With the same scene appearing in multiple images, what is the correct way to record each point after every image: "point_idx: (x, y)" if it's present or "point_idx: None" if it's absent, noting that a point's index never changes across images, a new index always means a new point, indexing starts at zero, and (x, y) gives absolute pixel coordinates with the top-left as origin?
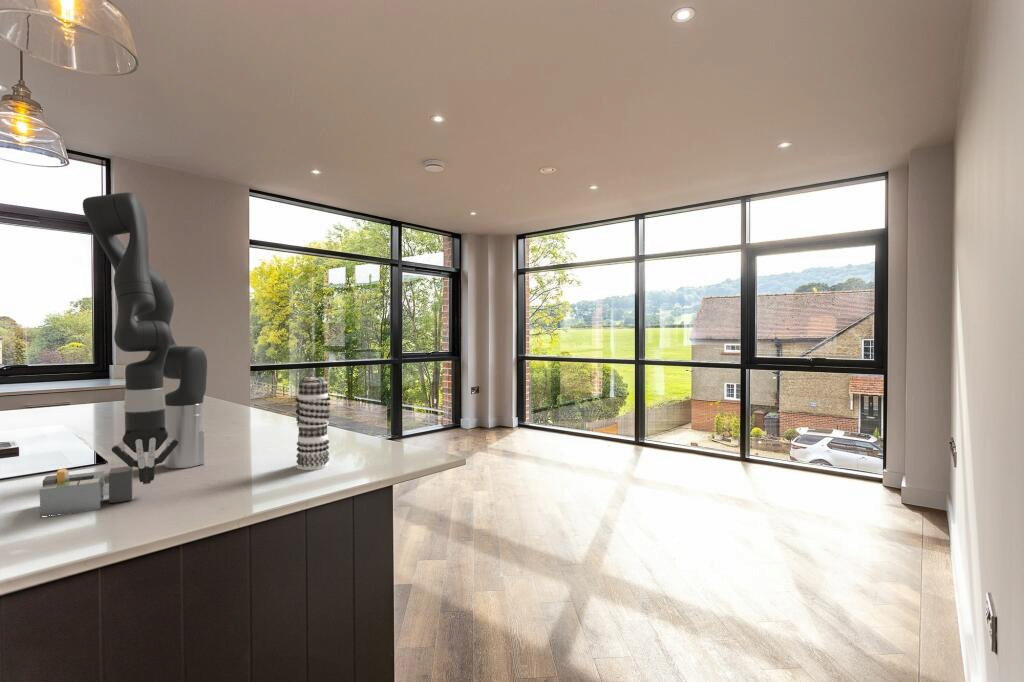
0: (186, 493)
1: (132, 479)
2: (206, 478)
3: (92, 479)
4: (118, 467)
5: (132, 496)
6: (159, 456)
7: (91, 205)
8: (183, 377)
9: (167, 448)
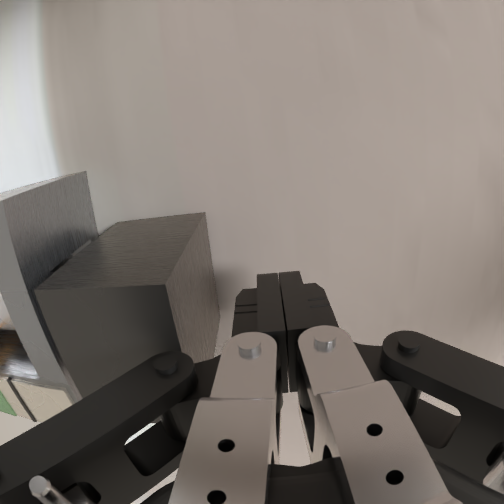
0: (420, 291)
1: (197, 299)
2: (495, 84)
3: (45, 392)
4: (71, 290)
5: (212, 269)
6: (408, 380)
7: None
8: None
9: (470, 477)
